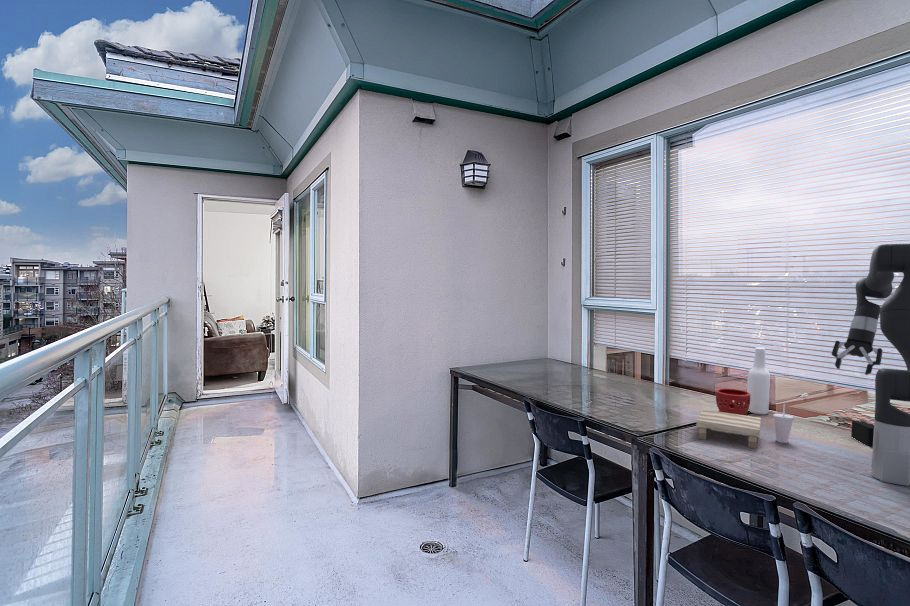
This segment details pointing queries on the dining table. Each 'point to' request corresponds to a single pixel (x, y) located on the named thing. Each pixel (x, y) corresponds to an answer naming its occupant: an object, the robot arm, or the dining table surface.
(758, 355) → the alcohol
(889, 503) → the dining table surface
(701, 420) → the low wooden platform
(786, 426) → the smoothie
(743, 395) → the plant pot
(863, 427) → the digital camera
